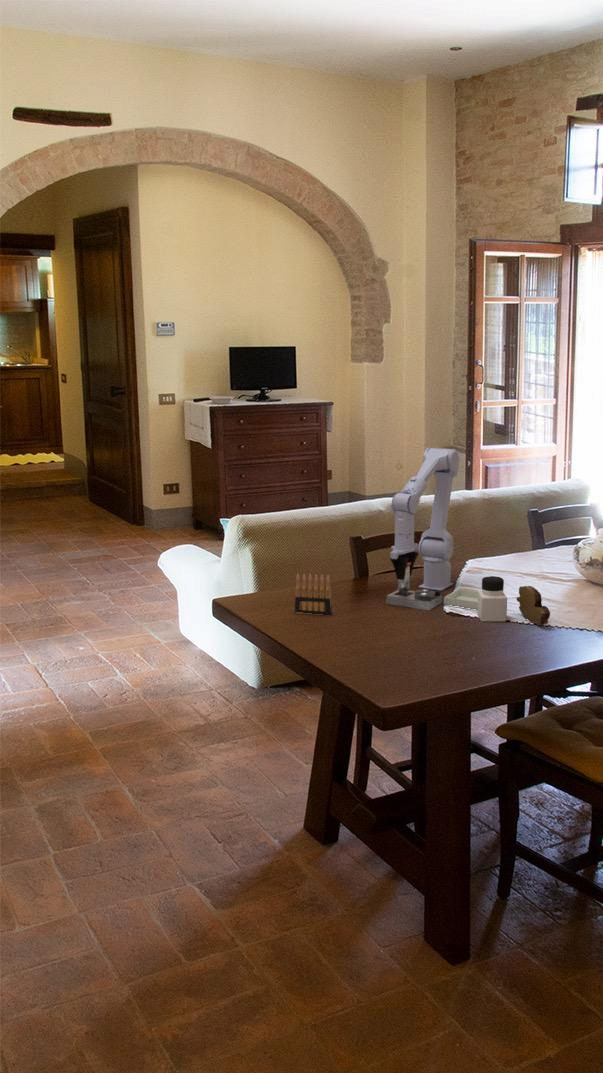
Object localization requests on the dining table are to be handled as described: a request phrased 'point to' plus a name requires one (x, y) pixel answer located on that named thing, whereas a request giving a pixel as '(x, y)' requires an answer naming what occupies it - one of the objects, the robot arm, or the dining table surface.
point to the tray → (462, 599)
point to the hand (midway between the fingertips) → (403, 577)
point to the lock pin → (405, 580)
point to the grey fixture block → (415, 599)
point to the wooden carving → (532, 605)
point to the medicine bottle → (492, 600)
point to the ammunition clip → (313, 596)
